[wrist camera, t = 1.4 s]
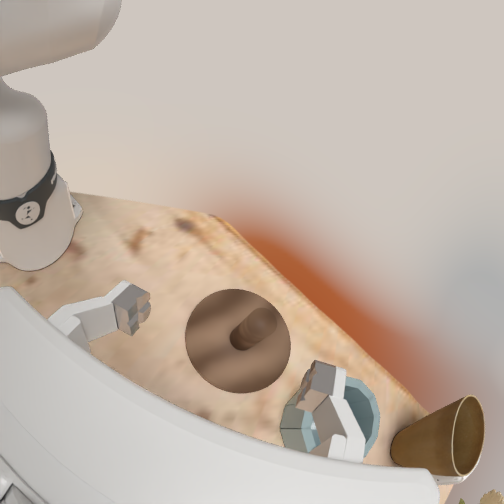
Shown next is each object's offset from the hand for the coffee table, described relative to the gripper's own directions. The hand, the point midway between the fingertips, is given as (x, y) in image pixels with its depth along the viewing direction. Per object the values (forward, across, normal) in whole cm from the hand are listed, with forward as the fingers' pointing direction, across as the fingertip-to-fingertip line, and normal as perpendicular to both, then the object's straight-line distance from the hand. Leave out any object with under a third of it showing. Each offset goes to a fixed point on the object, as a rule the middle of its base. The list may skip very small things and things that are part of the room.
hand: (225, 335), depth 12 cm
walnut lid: (+18, +2, +22) cm, 29 cm away
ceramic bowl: (+12, -15, +29) cm, 35 cm away
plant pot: (+14, -36, +35) cm, 52 cm away
